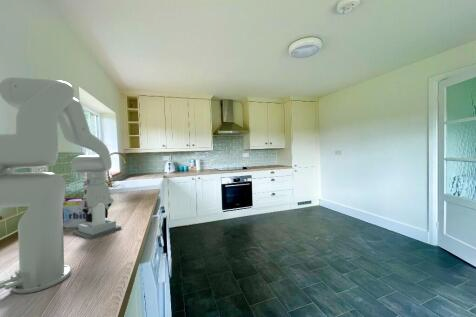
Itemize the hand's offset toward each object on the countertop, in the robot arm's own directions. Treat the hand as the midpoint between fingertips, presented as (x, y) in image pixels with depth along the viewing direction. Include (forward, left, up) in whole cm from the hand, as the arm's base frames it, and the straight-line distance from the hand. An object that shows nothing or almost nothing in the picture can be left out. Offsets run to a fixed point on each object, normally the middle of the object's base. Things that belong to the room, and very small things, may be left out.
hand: (97, 219), depth 99 cm
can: (0, 0, -3) cm, 3 cm away
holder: (0, 0, -6) cm, 6 cm away
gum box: (0, +22, -6) cm, 23 cm away
